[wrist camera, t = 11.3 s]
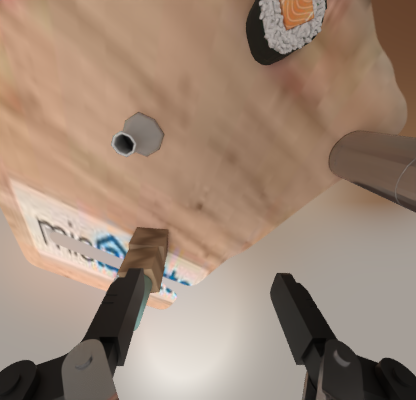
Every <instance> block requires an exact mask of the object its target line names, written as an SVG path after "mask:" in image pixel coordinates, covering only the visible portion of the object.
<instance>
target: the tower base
mask: <svg viewBox="0 0 416 400" xmlns="http://www.w3.org/2000/svg"><path fill="white" fill-rule="evenodd" d="M167 245H168V230H166V229H153V228H140V227H137V229H136V231H135V233H134V235H133V237H132V238H131V240H130V242H129V249H137V248H145V247H154V246H158V247H159V250H160V254H161V257H162V261H163V264H164V265H165V261H166V256H167Z"/></svg>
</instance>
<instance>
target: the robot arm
mask: <svg viewBox="0 0 416 400" xmlns="http://www.w3.org/2000/svg"><path fill="white" fill-rule="evenodd" d="M329 165H330V169H331V171H332V172H333V173H334V174H335V175H337V176H339V177H341V178H343V179H345V180H348V181H350V182H352V183H354V184H356V185H358V186H360V187H362V188H364V189H367V190H369V191H371V192H373V193H375V194H377V195H379V196H381V197H384V198H386V199H388V200H390V201H392V202H394V203H396V204H399V205H401V206H403V207H405V208H407V209H409V210H411V211H414V212H416V138H412V137H405V136H397V135H389V134H382V133H374V132H366V131H355V132H352V133H350V134H348V135H346V136H344V137H343V138H342V139H340V140H339V142H338V143H337V144H336V145H335V146H334V148H333V150H332V152H331V154H330V158H329ZM144 291H145V281H144V269H143V268H129V269H128V271H127V273H126V276H125V277H118V278H117V279H116V280H115V281H114V282H113V283H112V284H111V285H110V287H109V289H108V291H107V293H106V296H105V297H104V299H103V301H102V304H101V305H100V307H99V309H98V311H97V313H96V315H95V317H94V319H93V321H92V323H91V325H90V327H89V329H88V331H87V333H86V335H85V337H84V338H83V340H82V341H81V342H80V343H79V344H78V345H77V346H76V347H74V348H73V349H72V350H71V351H70V352H69V353H67V354H65V355H64V356H61V357H59V358H56V359H53V360H50V361H47V362H44V363H41V364H38V365H35V364H34V363H33V362H32V361H30V360H22V361H19V362H16V363H13V364H11V365H10V366H8V367H6V368H5V369H3V370H2V371H1V372H0V400H119V398H118V395H117V392H116V389H115V385H114V382H113V376H114V373H115V369H116V366H124V362H125V359H126V355H127V352H128V348H129V345H130V342H131V338H132V335H133V331H134V328H135V324H136V321H137V317H138V314H139V311H140V307H141V304H142V300H143V297H144ZM270 295H271V300H272V303H273V306H274V308H275V311H276V313H277V316H278V318H279V321H280V324H281V326H282V329H283V331H284V334H285V337H286V339H287V342H288V344H289V347H290V349H291V352H292V355H293V357H294V360H295V362H296V365H305V367H306V369H307V372H306V377H305V382H304V389H303V396H302V400H416V376H415V375H414V374H413V373H412V372H411V371H410V370H409V369H408V368H406V367H405V366H404V365H402V364H401V363H399V362H398V361H396V360H394V359H391V358H383V359H382V360H381V361H380V362H379V363H377V362H374V361H372V360H368V359H366V358H363V357H360V356H358V355H356V354H355V353H354V352H353V351H352V349H350V348H349V347H348V346H347V345H346V344H344V343H343V342H341V341H338V340H337V338H336V337H335V335H334V333H333V332H332V330H331V329H330V327H329V325H328V324H327V322H326V320H325V319H324V317H323V315H322V314H321V312H320V310H319V309H318V308H317V305H316V304H315V302H314V301H313V299H312V297H311V296H310V294H309V293H308V291H307V290H306V289H305V288H304V287H303V286H302V285H301V284H300V283H296V281H295V279H294V278H293V276H292V275H291V274H290V273H277V274H276V276H275V279H274V282H273V284H272V287H271V291H270Z"/></svg>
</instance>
